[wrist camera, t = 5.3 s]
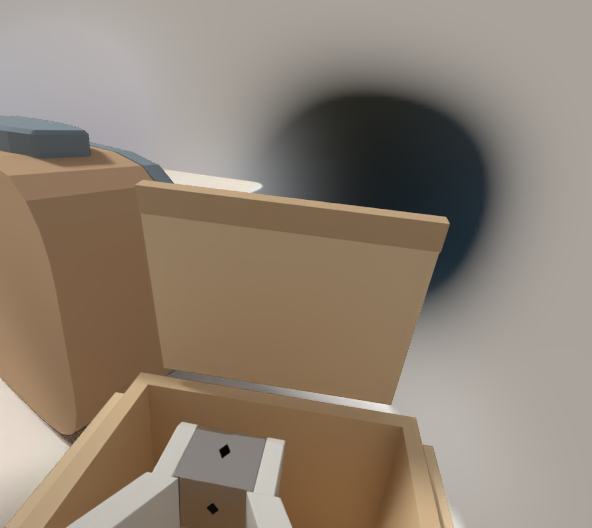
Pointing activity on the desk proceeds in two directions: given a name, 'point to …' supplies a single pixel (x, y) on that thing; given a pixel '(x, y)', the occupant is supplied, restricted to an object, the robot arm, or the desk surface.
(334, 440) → the carton
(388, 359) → the flap
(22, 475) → the desk surface
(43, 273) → the alarm clock
